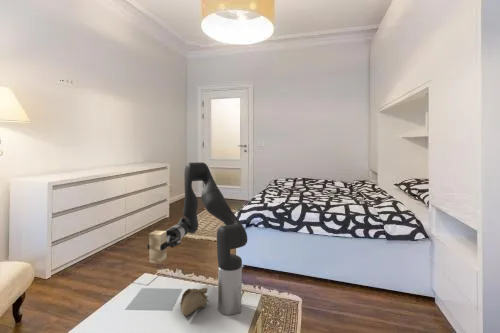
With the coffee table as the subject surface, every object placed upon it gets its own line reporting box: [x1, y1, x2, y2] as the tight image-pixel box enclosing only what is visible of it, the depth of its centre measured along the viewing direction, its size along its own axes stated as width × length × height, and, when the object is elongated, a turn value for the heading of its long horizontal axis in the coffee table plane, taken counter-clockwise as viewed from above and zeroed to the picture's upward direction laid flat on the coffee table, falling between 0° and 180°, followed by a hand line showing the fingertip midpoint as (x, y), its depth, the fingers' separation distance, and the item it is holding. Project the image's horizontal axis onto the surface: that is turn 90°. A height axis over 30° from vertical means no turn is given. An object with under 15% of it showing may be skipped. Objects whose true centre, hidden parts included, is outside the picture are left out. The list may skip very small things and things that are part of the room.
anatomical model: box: [179, 287, 209, 317], centre depth 103 cm, size 7×11×15 cm
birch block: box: [148, 229, 168, 264], centre depth 111 cm, size 5×5×12 cm
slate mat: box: [124, 287, 183, 312], centre depth 109 cm, size 18×16×1 cm
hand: (154, 247), depth 108 cm, fingers closed on birch block, 5 cm apart
